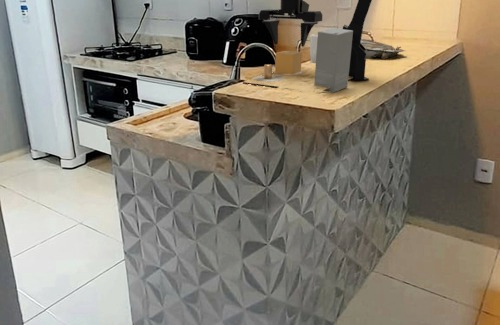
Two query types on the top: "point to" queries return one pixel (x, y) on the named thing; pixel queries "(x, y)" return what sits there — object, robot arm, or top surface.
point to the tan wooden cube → (288, 62)
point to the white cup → (313, 47)
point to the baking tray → (379, 49)
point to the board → (274, 78)
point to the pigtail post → (267, 71)
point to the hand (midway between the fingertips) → (289, 45)
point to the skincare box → (333, 59)
